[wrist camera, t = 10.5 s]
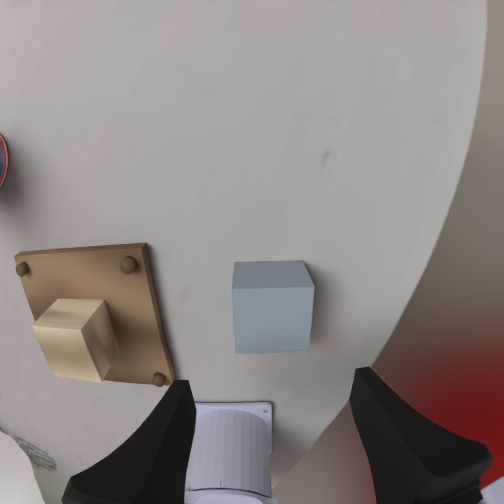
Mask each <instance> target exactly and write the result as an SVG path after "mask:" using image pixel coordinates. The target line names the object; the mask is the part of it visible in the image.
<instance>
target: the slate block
mask: <svg viewBox="0 0 504 504" xmlns="http://www.w3.org/2000/svg"><path fill="white" fill-rule="evenodd" d="M313 299H314V284H313V282H312V280H311V278H310V275H309V273H308V271H307V269H306V266H305V264H304V262H303V260H297V261H256V262H235V263H234V273H233V283H232V300H233V317H234V334H235V350H236V354H250V353H279V352H298V351H309V343H310V333H311V322H312V311H313Z"/></svg>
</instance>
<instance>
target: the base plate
mask: <svg viewBox="0 0 504 504" xmlns="http://www.w3.org/2000/svg"><path fill="white" fill-rule="evenodd" d="M14 258H15V261H16V265H17V266H16V272H17V274H18V275H19V276H20V278H21V282H22V285H23V288H24V291H25V294H26V297H27V300H28V303H29V305H30V308H31V311H32V314H33V316H34V319H35V321H36V320H37V319H38V318H39V317H40V316H41V315H42V314H43V313H44V312H45V311H46V310H47V309H48V308H49V307H50V306H51V305H52V304H53V303H54V302H55V301H56V300H57V299H104V300H105V304H106V307H107V311H108V314H109V317H110V321H111V324H112V327H113V330H114V333H115V336H116V339H117V342H118V345H119V348H120V350H119V351H118V353H117V355H116V357H115V359H114V361H113V363H112V365H111V367H110V368H109V370H108V372H107V374H106V376H105V378H104V380H107V381H116V382H126V383H138V384H152V385H155V386H158V387H161V386H163V385H171V384H172V382H173V381H174V380H175V379H176V377H175V373H174V369H173V366H172V362H171V358H170V354H169V350H168V346H167V342H166V338H165V334H164V330H163V326H162V321H161V317H160V312H159V308H158V303H157V299H156V294H155V289H154V284H153V279H152V273H151V268H150V262H149V257H148V251H147V245H146V243H135V244H120V245H105V246H91V247H78V248H64V249H51V250H38V251H26V252H20V253H18V254H17V255H15V256H14Z"/></svg>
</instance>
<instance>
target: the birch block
mask: <svg viewBox="0 0 504 504" xmlns="http://www.w3.org/2000/svg"><path fill="white" fill-rule="evenodd" d="M32 328H33V331H34V333H35V335H36V338H37V340H38V342H39V345H40V347H41V349H42V351H43V353H44V355H45V358H46V360H47V362H48V364H49V366H50V368H51V370H52V372H53V374H54V375H56V376H61V377H67V378H73V379H79V380H86V381H93V382H101V383H102V382H103V380H104V378H105V376H106V374H107V372H108V370H109V368H110V367H111V365H112V363H113V361H114V359H115V357H116V355H117V353H118V351H119V350H120V348H119V345H118V342H117V339H116V336H115V333H114V330H113V327H112V324H111V321H110V317H109V314H108V311H107V307H106V304H105V300H104V299H57V300H56V301H55V302H54V303H53V304H52V305H51V306H50V307H49V308H48V309H47V310H46V311H45V312H44V313H43V314H42V315H41V316H40V317H39V318H38V319H37V320H36V321H35V322H34V323H33V325H32Z"/></svg>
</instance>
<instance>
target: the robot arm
mask: <svg viewBox="0 0 504 504" xmlns="http://www.w3.org/2000/svg"><path fill="white" fill-rule="evenodd" d="M349 400H350V404H351V409H352V413H353V418H354V421H355V424H356V426H357V429H358V432H359V434H360V437H361V440H362V443H363V446H364V448H365V451H366V453H367V456H368V460H369V464H370V468H371V473H372V478H373V483H374V489H375V494H376V501H377V504H504V477H501V478H500V479H498V480H496V481H495V482H493V483H491V484H490V485H488V486H486V487H485V488H483V489H482V490H481V491H480V490H479V488H478V486H479V485H480V484H481V483H480V480H479V477H480V476H481V475H482V474H483V473H484V472H485V471H486V470H487V469H488V467H489V466H490V465H491V463H492V461H493V457H492V455H491V454H490V452H489V450H488V449H487V447H486V445H485V444H482V443H479V442H476V441H473V440H470V439H467V438H464V437H462V436H459V435H457V434H454V433H452V432H450V431H448V430H446V429H444V428H442V427H441V426H439V425H437V424H435V423H433V422H432V421H430V420H429V419H427V418H426V417H424V416H423V415H421V414H420V413H418V412H417V411H416V410H414V409H413V408H412V407H411V406H409V405H408V404H407V403H406V402H405V401H404V400H402V399H401V398H400V397H399V396H398V395H397V394H396V393H395V392H394V391H393V390H392V389H391V388H390V387H388V386H387V384H386V383H385V382H384V381H383V380H382V379H381V378H380V377H379V376H378V375H377V374H376V373H375V372H374V371H373V370H372V369H371V368H370V367H363V368H357V369H356V371H355V376H354V381H353V385H352V390H351V395H350V399H349ZM271 455H272V406H271V403H269V402H252V403H195V402H194V399H193V395H192V391H191V388H190V384H189V380H174V381H173V382H172V384H171V385H170V387H169V388H168V390H167V391H166V393H165V394H164V396H163V397H162V399H161V400H160V402H159V403H158V404H157V406H156V407H155V408H154V410H153V411H152V412H151V414H150V415H149V416H148V417H147V419H146V420H145V421H144V422H143V423H142V424H141V426H140V427H139V428H138V429H137V430H136V431H135V432H134V433H133V434H132V435H131V436H130V437H129V438H128V439H127V440H126V441H125V442H124V443H123V444H122V445H120V446H119V447H118V448H117V449H116V450H115V451H113V452H112V453H111V454H109V455H108V456H107V457H105V458H104V459H102V460H101V461H99V462H98V463H96V464H95V465H93V466H92V467H90V468H88V469H86V470H84V471H82V472H80V473H78V474H76V475H74V476H72V477H71V478H70V480H69V482H68V484H67V486H66V489H65V492H64V495H63V497H62V500H61V501H62V502H63V504H279V501H278V499H274V498H272V491H271V475H270V458H269V456H271Z"/></svg>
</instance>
